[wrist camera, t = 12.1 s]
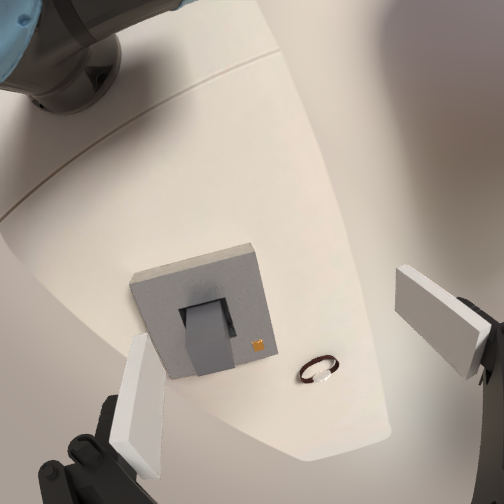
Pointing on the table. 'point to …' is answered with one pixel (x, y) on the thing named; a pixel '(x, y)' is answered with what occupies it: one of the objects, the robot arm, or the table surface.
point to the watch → (320, 375)
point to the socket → (203, 290)
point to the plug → (208, 338)
